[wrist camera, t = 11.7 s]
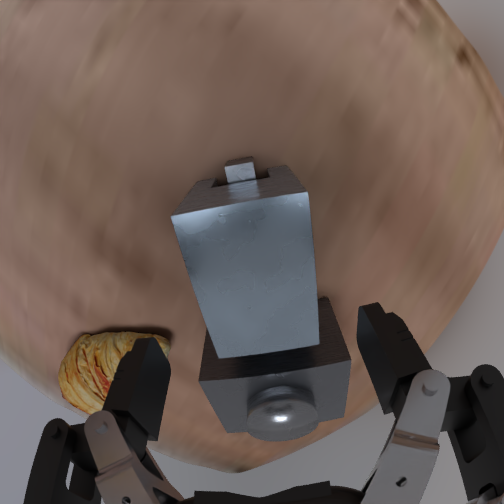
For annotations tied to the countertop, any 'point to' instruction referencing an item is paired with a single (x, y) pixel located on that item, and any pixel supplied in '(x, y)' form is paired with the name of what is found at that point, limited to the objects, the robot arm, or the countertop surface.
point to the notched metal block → (251, 262)
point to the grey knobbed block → (278, 374)
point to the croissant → (96, 367)
